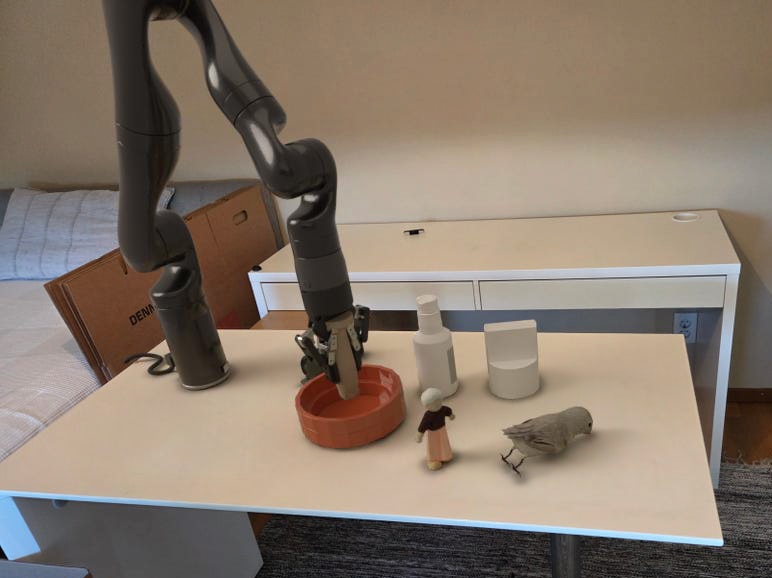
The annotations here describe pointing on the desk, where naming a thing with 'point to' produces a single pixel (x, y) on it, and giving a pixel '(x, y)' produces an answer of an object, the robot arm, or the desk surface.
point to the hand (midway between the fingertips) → (345, 375)
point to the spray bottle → (434, 349)
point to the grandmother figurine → (435, 428)
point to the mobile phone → (315, 367)
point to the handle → (344, 357)
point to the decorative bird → (548, 433)
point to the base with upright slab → (512, 358)
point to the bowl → (351, 408)
